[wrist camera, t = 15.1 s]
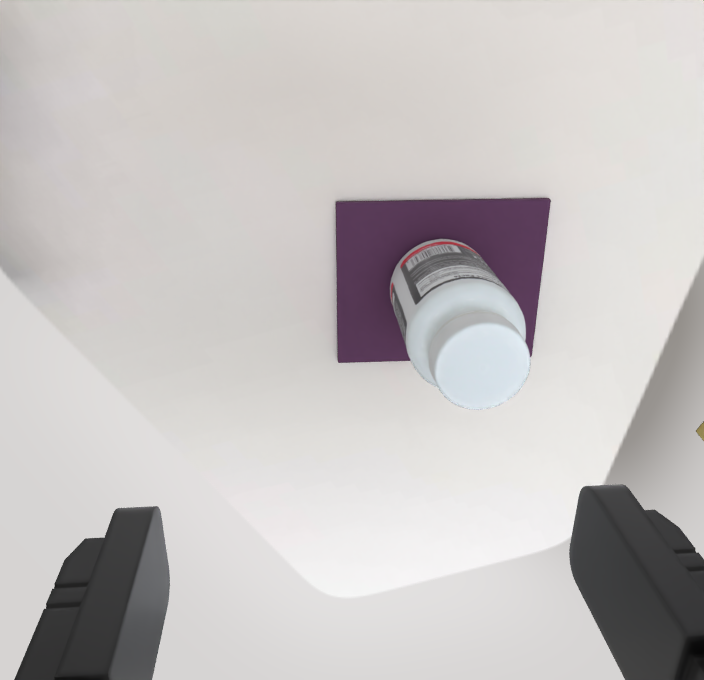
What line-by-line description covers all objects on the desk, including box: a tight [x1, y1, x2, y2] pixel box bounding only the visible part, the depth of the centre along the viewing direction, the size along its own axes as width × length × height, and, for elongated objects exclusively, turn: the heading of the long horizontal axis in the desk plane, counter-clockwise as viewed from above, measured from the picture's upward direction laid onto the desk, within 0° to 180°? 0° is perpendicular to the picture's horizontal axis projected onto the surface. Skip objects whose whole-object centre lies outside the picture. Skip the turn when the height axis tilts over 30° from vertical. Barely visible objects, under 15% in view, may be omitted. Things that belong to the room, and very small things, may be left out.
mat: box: [336, 198, 551, 363], centre depth 36 cm, size 11×9×1 cm
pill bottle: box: [390, 239, 530, 410], centre depth 32 cm, size 5×5×10 cm
